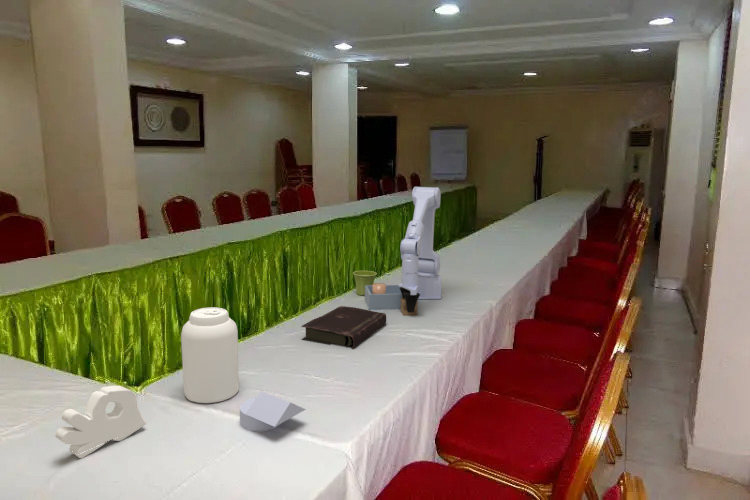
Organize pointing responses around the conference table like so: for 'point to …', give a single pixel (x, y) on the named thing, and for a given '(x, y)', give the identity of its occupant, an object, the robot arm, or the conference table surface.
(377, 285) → the terracotta cylinder
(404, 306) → the walnut cube
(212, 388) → the can
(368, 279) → the plant pot
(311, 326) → the diary
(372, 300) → the box
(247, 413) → the wedge on round base
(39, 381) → the conference table surface
